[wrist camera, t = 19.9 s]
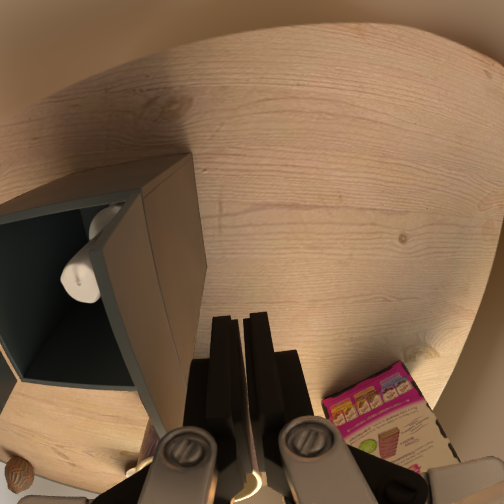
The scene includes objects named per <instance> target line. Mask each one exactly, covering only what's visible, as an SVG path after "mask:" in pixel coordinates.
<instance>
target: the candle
mask: <svg viewBox="0 0 504 504" xmlns="http://www.w3.org/2000/svg"><path fill="white" fill-rule="evenodd" d="M125 203H126V201H123V202H117V203H110V205H109V207H107V208H105V209H103V210H101V211H100V212H98V213H97V214H96V216H95V217H94V218H93V220H92V222H91V225H90V229H89V240H90V241H89V242H88V243H87V244H86V245H85V246H84V247H83V248H82V249H81V250H80V251H79V252H78V253H77V254H76V255H75V256H74V257H73V258H72V259H71V260H70V261H69V262H68V263H67V264H66V266H65V268H64V270H63V272H62V275H61V283H62V284H63V286H64V288H65V290H66V291H67V293H68V294H69V295H70V296H71V297H72V298H74V299H75V300H77V301H80V302H86V303H94V302H96V301H97V300H98V299H99V298H100V296H101V295H100V292H99V288H98V285H97V282H96V278H95V275H94V272H93V268H92V265H91V261H90V257H89V254H88V251H89V249H90V248H91V247H92V245H93V244H94V243H95V241H96V240H97V239H98V237H99V236H100V235H101V233H102V232H103V231H104V229H105V228H106V227H107V225H108V224H109V223H110V222H111V220H112V219H113V218H114V216H115V215H116V214H117V213H118V211H119V210H120V209H121V208H122V206H123V205H124V204H125Z"/></svg>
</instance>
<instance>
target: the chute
mask: <svg viewBox="0 0 504 504" xmlns="http://www.w3.org/2000/svg"><path fill="white" fill-rule="evenodd" d="M135 193H141V198H142V204H143V210H144V215H145V221H146V226H147V231H148V236H149V242H150V246H151V251H152V256H153V261H154V265H155V270H156V275H157V279H158V283H159V288H160V292H161V296H162V300H163V304H164V308H165V312H166V316H167V320H168V324H169V328H170V331H171V335H172V339H173V343H174V346H175V350H176V353H177V357H178V360H179V364H180V367H181V370H182V374H183V377H184V380H185V383H186V387H187V386H188V378H189V371H190V364H191V361H192V359H193V354H194V347H195V340H196V334H197V327H198V320H199V314H200V307H201V301H202V295H203V289H204V282H205V276H206V270H207V262H206V255H205V249H204V242H203V235H202V228H201V220H200V213H199V205H198V198H197V190H196V182H195V174H194V165H193V157H192V153H184V154H177V155H170V156H163V157H156V158H150V159H144V160H138V161H132V162H127V163H121V164H116V165H111V166H106V167H101V168H96V169H91V170H86V171H82V172H77V173H73V174H70V175H67V176H65V177H62V178H60V179H57V180H55V181H52V182H50V183H47V184H45V185H43V186H40V187H38V188H36V189H33V190H31V191H29V192H26V193H24V194H22V195H20V196H18V197H15V198H13V199H11V200H9V201H7V202H5V203H3V204H1V205H0V343H1V345H2V347H3V349H4V351H5V353H6V355H7V357H8V358H9V360H10V362H11V364H12V366H13V367H14V369H15V371H16V373H17V374H18V376H19V378H20V379H21V381H22V382H27V383H34V384H42V385H50V386H60V387H70V388H82V389H96V390H114V391H137V390H136V387H135V385H134V383H133V381H132V378H131V376H130V374H129V371H128V369H127V366H126V364H125V361H124V359H123V356H122V354H121V351H120V349H119V346H118V344H117V341H116V338H115V336H114V333H113V330H112V327H111V324H110V322H109V319H108V316H107V313H106V310H105V307H104V304H103V301H102V298H101V296H100V298H99V299H98V300H97V301H96V302H94V303H86V302H80V301H77V300H75V299H74V298H72V297H71V296H70V295H69V294H68V293H67V291H66V290H65V288H64V286H63V284H62V283H61V275H62V272H63V270H64V268H65V266H66V264H67V263H68V262H69V261H70V260H71V259H72V258H73V257H74V256H75V255H76V254H77V253H78V252H79V251H80V250H81V249H82V248H83V247H84V246H85V245H86V244H87V243H88V242H89V241H90V240H89V229H90V225H91V222H92V220H93V218H94V217H95V216H96V214H97V213H98V212H100V211H101V210H103V209H105V208H107V207H109V205H110V203H117V202H123V201H127V200H128V199H129V198H130V197H131V195H132V194H135ZM16 382H17V379H16V377H15V376H14V374H13V372H12V371H11V369H10V367H9V366H8V364H7V362H6V360H5V358H4V357H3V355H2V353H1V351H0V414H1V412H2V410H3V408H4V406H5V404H6V402H7V400H8V398H9V396H10V394H11V392H12V390H13V388H14V386H15V384H16Z"/></svg>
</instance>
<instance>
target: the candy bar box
mask: <svg viewBox="0 0 504 504" xmlns="http://www.w3.org/2000/svg"><path fill="white" fill-rule="evenodd" d="M321 404H322V407H323V411H324V414H325V417H326V419H328V420H329V421H331V422H332V423H334V424H335V425H336V427H337V428H338V429H339V431H340V433H341V435H342V437H343V438H344V440H345V442H346V444H349V445H351V446H353V447H355V448H358V449H360V450H362V451H365V452H367V453H369V454H372V455H374V456H377V457H379V458H381V459H384V460H386V461H389V462H392V463H394V464H397V465H399V466H402V467H405V468H407V469H410V470H413V471H415V472H416V473H421V472H426V471H427V470H428V469H430V468H436V467H441V466H446V465H452V464H456V463H461V461H460V459H459V457H458V456H457V454H456V452H455V450H454V448H453V446H452V444H451V443H450V441H449V440H448V438H447V436H446V434H445V432H444V431H443V429H442V427H441V425H440V423H439V422H438V420H437V418H436V417H435V415H434V413H433V411H432V410H431V408H430V406H429V405H428V403H427V401H426V400H425V398H424V396H423V395H422V393H421V391H420V389H419V388H418V386H417V384H416V383H415V381H414V380H413V378H412V377H411V375H410V373H409V371H408V370H407V368H406V366H405V365H404V363H403V362H402V361H399V362H397V363H396V364H394V365H392V366H390V367H388V368H386V369H385V370H383V371H381V372H379V373H377V374H375V375H373V376H372V377H370V378H368V379H366V380H364V381H362V382H360V383H358V384H356V385H354V386H352V387H350V388H348V389H346V390H344V391H342V392H340V393H338V394H336V395H333V396H331V397H329V398H327V399H325V400H323V401H321Z"/></svg>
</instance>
